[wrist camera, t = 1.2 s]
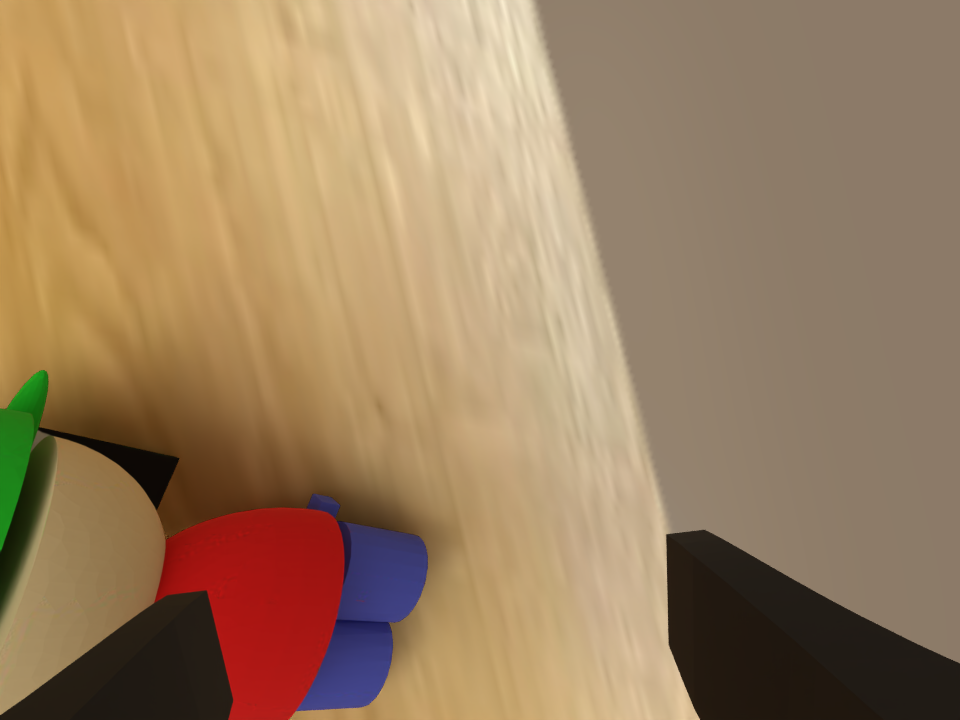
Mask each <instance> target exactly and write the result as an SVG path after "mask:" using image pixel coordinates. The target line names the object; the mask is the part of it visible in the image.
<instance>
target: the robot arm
mask: <svg viewBox="0 0 960 720" xmlns="http://www.w3.org/2000/svg"><path fill="white" fill-rule="evenodd" d="M666 541H667V588H668V635H669V646H670V649H671V652H672V654H673V657H674V659H675V662H676V664H677V667H678V670H679V672H680V675H681V677H682V680H683V682H684V685H685V687H686V689H687V692H688V694H689V697H690V699H691V702H692V704H693V706H694V709H695V711H696V712H697V714H698V716H699V718H700V720H960V663H958V662H955V661H953V660H951V659H948V658H946V657H944V656H942V655H940V654H938V653H935V652H933V651H931V650H929V649H927V648H924V647H922V646H920V645H918V644H916V643H914V642H912V641H910V640H907V639H906V638H904V637H902V636H899V635H897V634H896V633H894V632H891V631H890V630H888V629H886V628H883V627H881V626H880V625H878V624H876V623H874V622H872V621H869V620H867V619H865V618H863V617H861V616H860V615H858V614H856V613H854V612H852V611H850V610H848V609H846V608H844V607H842V606H841V605H839V604H837V603H835V602H833V601H831V600H829V599H827V598H826V597H824V596H822V595H820V594H818V593H816V592H815V591H813V590H811V589H809V588H808V587H806V586H804V585H802V584H800V583H799V582H797V581H795V580H793V579H792V578H789V577H788V576H786V575H784V574H783V573H781V572H779V571H777V570H776V569H774V568H772V567H770V566H769V565H767V564H765V563H764V562H761V561H760V560H758V559H757V558H755V557H753V556H751V555H750V554H748V553H746V552H744V551H743V550H741V549H739V548H737V547H736V546H734V545H732V544H730V543H729V542H727V541H725V540H723V539H721V538H720V537H718V536H716V535H714V534H712V533H710V532H708V531H706V530H699V531H691V532H682V533H674V534H666ZM232 704H233V696H232V692H231V688H230V683H229V679H228V675H227V671H226V667H225V663H224V659H223V654H222V650H221V646H220V642H219V638H218V634H217V630H216V625H215V621H214V617H213V613H212V609H211V605H210V600H209V596H208V592H207V590H204V591H196V592H187V593H179V594H171V595H166V596H165V597H163V598H161V599H160V600H158V601H157V602H155V603H154V604H152V605H151V606H149V607H148V608H146V609H145V610H143V611H142V612H140V613H139V614H138V615H136V616H135V617H133V618H132V619H131V620H129V621H128V622H126V623H125V624H124V625H122V626H121V627H120V628H118V629H117V630H116V631H114V632H113V633H112V634H110V635H109V636H107V637H106V638H105V639H103V640H102V641H101V642H99V643H98V644H97V645H95V646H94V647H93V648H91V649H90V650H89V651H87V652H86V653H85V654H83V655H82V656H81V657H79V658H78V659H77V660H75V661H74V662H73V663H71V664H70V665H69V666H67V667H66V668H65V669H63V670H62V671H60V672H59V673H58V674H56V675H55V676H54V677H52V678H51V679H50V680H48V681H47V682H46V683H44V684H43V685H42V686H40V687H39V688H38V689H36V690H35V691H34V692H32V693H31V694H29V695H28V696H27V697H25V698H24V699H22V700H21V701H20V702H18V703H17V704H15V705H14V706H13V707H11V708H10V709H8V710H7V711H5V712H4V713H3V714H1V715H0V720H228V719H229V715H230V712H231V708H232Z"/></svg>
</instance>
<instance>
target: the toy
mask: <svg viewBox="0 0 960 720" xmlns="http://www.w3.org/2000/svg"><path fill="white" fill-rule="evenodd" d="M47 392H48V374H47V372H46V371H45V370H41V371H39V372H37V373H36V374H34V375H33V376H32V377H31V378H30V379H29V380H28V381H27V382H26V383H25V384H24V386H23V387H22V388H21V389H20V391H19V392H18V393H17V395H16V396H15V397H14V398H13V400H12V401H11V403H10V404H9V406H8V407H7V409H0V715H1V714H3V713H4V712H5V711H7V710H8V709H10V708H11V707H13V706H14V705H15V704H17V703H18V702H20V701H21V700H22V699H24V698H25V697H27V696H28V695H29V694H31V693H32V692H34V691H35V690H36V689H38V688H39V687H40V686H42V685H43V684H44V683H46V682H47V681H48V680H50V679H51V678H52V677H54V676H55V675H56V674H58V673H59V672H60V671H62V670H63V669H65V668H66V667H67V666H69V665H70V664H71V663H73V662H74V661H75V660H77V659H78V658H79V657H81V656H82V655H83V654H85V653H86V652H87V651H89V650H90V649H91V648H93V647H94V646H95V645H97V644H98V643H99V642H101V641H102V640H103V639H105V638H106V637H107V636H109V635H110V634H112V633H113V632H114V631H116V630H117V629H118V628H120V627H121V626H122V625H124V624H125V623H126V622H128V621H129V620H131V619H132V618H133V617H135V616H136V615H138V614H139V613H140V612H142V611H143V610H145V609H146V608H148V607H149V606H151V605H152V604H154V603H155V602H157V601H158V600H160V599H161V598H163V597H165V596H166V595H171V594H179V593H187V592H196V591H204V590H207V592H208V596H209V600H210V605H211V609H212V613H213V617H214V621H215V625H216V630H217V634H218V638H219V642H220V646H221V650H222V654H223V659H224V663H225V667H226V671H227V675H228V679H229V683H230V688H231V692H232V696H233V704H232V708H231V712H230V715H229V719H228V720H289V719H290V717H291V716H292V715H293V714H294V713H295V711H306V710H324V709H341V708H359V707H363V706H366V705H369V704H370V703H371V702H372V701H373V700H374V699H375V698H376V697H377V695H378V694H379V692H380V690H381V689H382V687H383V685H384V683H385V680H386V678H387V675H388V672H389V668H390V664H391V659H392V650H393V639H392V631H391V628H390V625H389V622H394V623H395V622H399V621H401V620H402V619H404V618H405V617H407V616H408V615H409V613H410V612H411V611H412V610H413V608H414V607H415V605H416V603H417V602H418V600H419V598H420V596H421V593H422V590H423V587H424V584H425V580H426V574H427V569H428V555H427V550H426V546H425V544H424V542H423V540H422V539H421V538H420V537H419V536H416V535H413V534H407V533H402V532H396V531H391V530H385V529H380V528H374V527H369V526H363V525H358V524H352V523H347V522H340V521H336V520H335V517H336V515H337V512H338V510H339V508H340V505H339V504H338V503H337V502H336V501H335V500H334V499H333V498H331V497H328V496H323V495H318V494H313V495H312V497H311V499H310V502H309V504H308V506H307V509H302V508H284V507H282V508H265V509H254V510H249V511H243V512H237V513H232V514H228V515H224V516H220V517H217V518H213V519H210V520H207V521H204V522H202V523H199V524H197V525H194V526H192V527H190V528H187V529H185V530H183V531H181V532H179V533H177V534H176V535H174V536H172V537H170V538H168V539H167V540H165V536H164V531H163V528H162V524H161V521H160V518H159V516H158V514H157V511H156V510H157V508H158V506H159V504H160V501H161V499H162V497H163V495H164V492H165V490H166V488H167V486H168V483H169V481H170V479H171V477H172V474H173V472H174V470H175V468H176V465H177V463H178V461H179V459H180V458H177V457H172V456H168V455H163V454H159V453H154V452H150V451H145V450H140V449H136V448H131V447H127V446H122V445H118V444H113V443H109V442H104V441H99V440H95V439H90V438H86V437H81V436H77V435H72V434H68V433H63V432H59V431H54V430H49V429H45V428H40V427H39V424H40V421H41V417H42V414H43V410H44V406H45V402H46V397H47Z"/></svg>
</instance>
